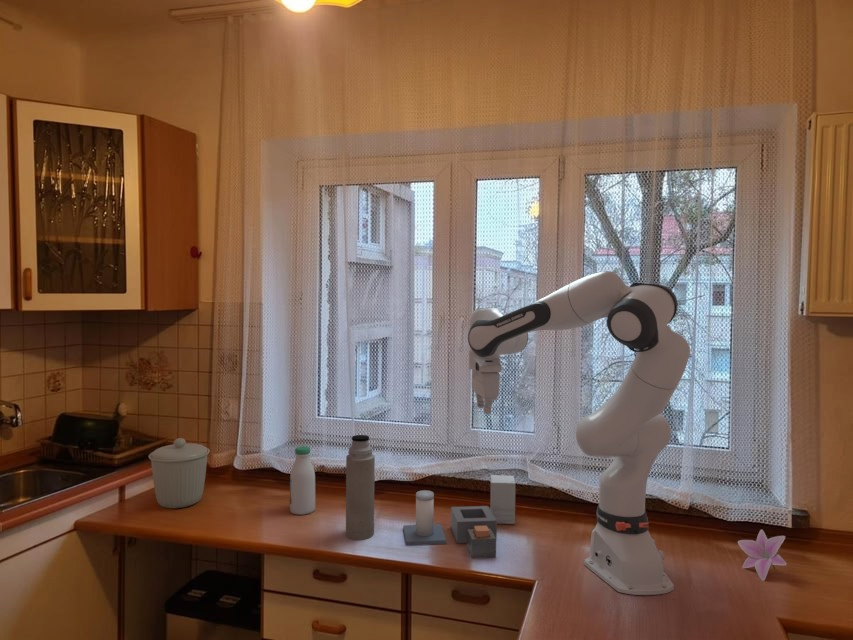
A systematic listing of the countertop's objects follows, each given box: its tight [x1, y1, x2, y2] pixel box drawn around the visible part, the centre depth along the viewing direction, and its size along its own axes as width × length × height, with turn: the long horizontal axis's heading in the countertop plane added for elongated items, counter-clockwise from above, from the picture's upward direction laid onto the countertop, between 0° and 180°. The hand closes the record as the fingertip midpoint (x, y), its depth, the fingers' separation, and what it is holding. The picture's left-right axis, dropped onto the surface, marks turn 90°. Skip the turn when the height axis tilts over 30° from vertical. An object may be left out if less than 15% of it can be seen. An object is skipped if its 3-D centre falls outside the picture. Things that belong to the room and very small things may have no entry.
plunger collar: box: [466, 529, 497, 559], centre depth 150 cm, size 6×6×5 cm
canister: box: [148, 437, 211, 509], centre depth 182 cm, size 18×18×21 cm
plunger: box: [474, 526, 489, 537], centre depth 149 cm, size 3×3×6 cm
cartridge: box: [415, 489, 435, 536], centre depth 159 cm, size 5×5×11 cm
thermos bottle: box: [345, 434, 376, 541], centre depth 160 cm, size 8×8×28 cm
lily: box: [737, 529, 787, 582], centre depth 141 cm, size 12×12×10 cm
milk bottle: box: [289, 445, 316, 516], centre depth 177 cm, size 8×8×20 cm
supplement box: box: [489, 474, 516, 525], centre depth 172 cm, size 7×7×13 cm
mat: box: [402, 523, 447, 546], centre depth 159 cm, size 11×11×1 cm
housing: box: [450, 505, 498, 544], centre depth 161 cm, size 11×11×6 cm
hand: (483, 410), depth 165 cm, fingers open, 8 cm apart
